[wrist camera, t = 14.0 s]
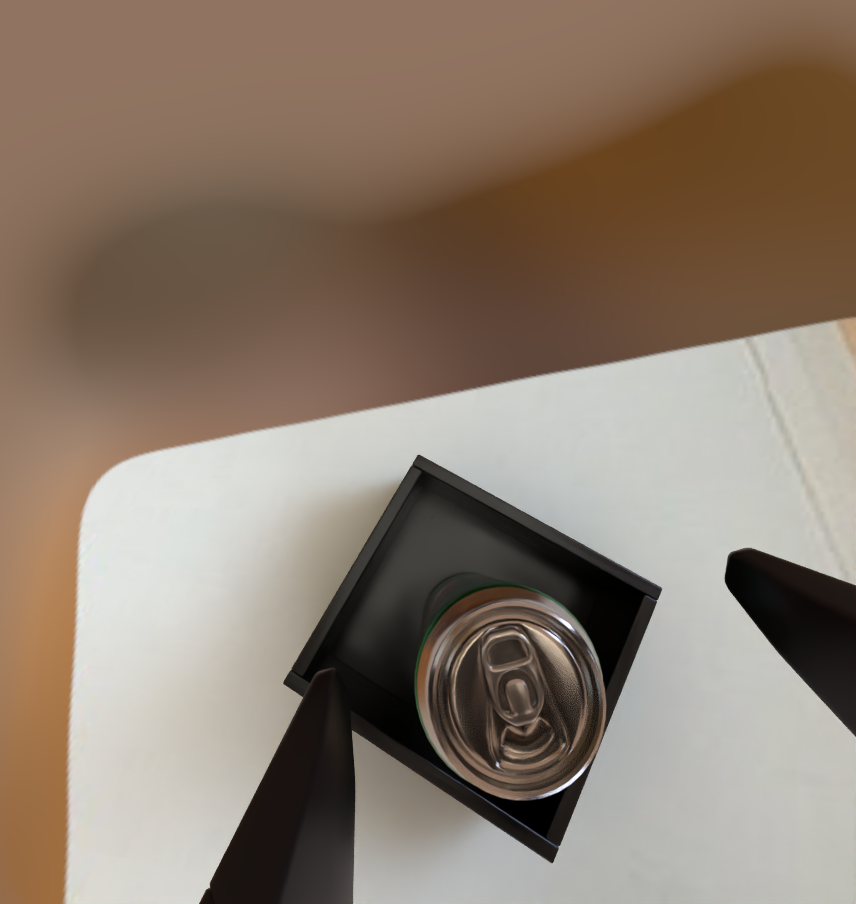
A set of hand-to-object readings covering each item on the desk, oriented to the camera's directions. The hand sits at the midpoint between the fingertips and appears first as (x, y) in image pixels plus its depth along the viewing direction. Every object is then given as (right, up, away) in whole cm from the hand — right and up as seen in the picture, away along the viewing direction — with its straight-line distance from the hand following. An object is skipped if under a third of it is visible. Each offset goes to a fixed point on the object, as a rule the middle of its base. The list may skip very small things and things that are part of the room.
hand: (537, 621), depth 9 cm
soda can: (0, -5, +13) cm, 14 cm away
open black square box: (0, -5, +13) cm, 14 cm away
